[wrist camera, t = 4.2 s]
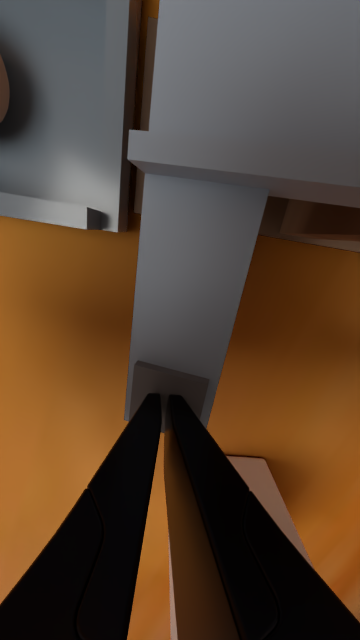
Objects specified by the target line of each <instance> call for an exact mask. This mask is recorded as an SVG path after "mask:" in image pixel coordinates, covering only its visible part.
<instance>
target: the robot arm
mask: <svg viewBox="0 0 360 640" xmlns="http://www.w3.org/2000/svg"><path fill="white" fill-rule="evenodd" d="M161 425H162V413H161V395H160V394H159V393H148V394H147V395H146V397H145V398H144V400H143V401H142V403H141V404H140V406H139V407H138V409H137V411H136V412H135V414H134V415H133V417H132V418H131V420H130V421H129V423H128V424H127V426H126V427H125V429H124V430H123V432H122V433H121V435H120V437H119V438H118V440H117V441H116V443H115V444H114V446H113V447H112V449H111V450H110V452H109V453H108V455H107V456H106V458H105V460H104V461H103V463H102V464H101V466H100V467H99V469H98V470H97V472H96V473H95V475H94V476H93V478H92V479H91V481H90V483H89V484H88V486H87V489H85V490H84V491H83V493H82V494H81V496H80V497H79V499H78V501H77V502H76V504H75V505H74V507H73V508H72V510H71V511H70V512H69V514H68V515H67V517H66V518H65V520H64V521H63V523H62V524H61V525H60V527H59V528H58V530H57V531H56V533H55V534H54V535H53V537H52V538H51V539H50V541H49V542H48V543H47V545H46V546H45V547H44V549H43V550H42V551H41V553H40V554H39V555H38V557H37V558H36V559H35V561H34V562H33V563H32V565H31V566H30V567H29V569H28V570H27V571H26V572H25V574H24V575H23V576H22V577H21V579H20V580H19V581H18V582H17V584H16V585H15V586H14V588H13V589H12V590H11V591H10V593H9V594H8V595H7V596H6V598H5V599H4V600H3V602H2V603H1V604H0V640H127V635H128V629H129V623H130V617H131V611H132V605H133V598H134V592H135V586H136V580H137V574H138V568H139V562H140V555H141V549H142V543H143V537H144V531H145V525H146V519H147V512H148V506H149V500H150V494H151V488H152V482H153V476H154V470H155V463H156V457H157V451H158V445H159V439H160V433H161ZM164 481H165V493H166V505H167V517H168V529H169V542H170V554H171V566H172V578H173V590H174V602H175V615H176V627H177V639H178V640H360V622H359V621H358V620H357V619H356V618H355V617H354V615H353V614H352V613H351V612H350V611H349V610H348V608H347V607H346V606H345V605H344V604H343V603H342V601H341V600H340V599H339V598H338V597H337V596H336V594H335V593H334V592H333V591H332V590H331V589H330V587H329V586H328V585H327V584H326V583H325V582H324V580H323V579H322V578H321V577H320V576H319V575H318V573H317V572H316V571H315V570H314V569H313V568H312V566H311V565H310V564H309V563H308V562H307V560H306V559H305V558H304V557H303V556H302V554H301V553H300V552H299V551H298V550H297V548H296V547H295V546H294V545H293V544H292V542H291V541H290V540H289V539H288V538H287V536H286V535H285V534H284V533H283V531H282V530H281V529H280V528H279V526H278V525H277V524H276V522H275V521H274V520H273V519H272V517H271V516H270V515H269V513H268V512H267V511H266V509H265V508H264V507H263V505H262V504H261V503H260V501H259V500H258V499H257V497H256V496H255V495H254V493H253V492H252V491H249V487H248V485H247V484H246V482H245V481H244V480H243V478H242V477H241V476H240V474H239V473H238V472H237V470H236V469H235V467H234V466H233V465H232V463H231V462H230V461H229V459H228V458H227V457H226V455H225V454H224V452H223V451H222V450H221V448H220V447H219V446H218V444H217V443H216V442H215V440H214V439H213V437H212V436H211V435H210V433H209V432H208V431H207V429H206V428H205V427H204V425H203V424H202V422H201V421H200V420H199V418H198V417H197V416H196V414H195V413H194V411H193V410H192V409H191V407H190V406H189V405H188V403H187V402H186V401H185V399H184V398H183V397H182V396H181V395H174V394H170V395H169V397H168V402H167V408H166V414H165V436H164Z"/></svg>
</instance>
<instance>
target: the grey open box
mask: <svg viewBox="0 0 360 640" xmlns="http://www.w3.org/2000/svg"><path fill="white" fill-rule="evenodd" d="M141 11H142V0H0V55H1V57H2V60H3V62H4V65H5V69H6V72H7V76H8V81H9V89H10V98H9V106H8V110H7V113H6V115H5V117H4V119H3V120H2V122H1V123H0V216H6V217H12V218H19V219H25V220H31V221H37V222H43V223H50V224H56V225H62V226H68V227H74V228H81V229H87V230H106V231H112V232H127V225H128V210H129V194H130V179H131V164H132V163H131V162H130V161H129V160H128V159H127V158H128V141H129V129H130V130H134V118H135V103H136V87H137V72H138V57H139V41H140V26H141Z"/></svg>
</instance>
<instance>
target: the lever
mask: <svg viewBox="0 0 360 640" xmlns="http://www.w3.org/2000/svg"><path fill="white" fill-rule="evenodd" d="M127 159H128V160H129V161H130V162H131V163H133V164H134V165H135V166H136V167H138V168H139V169H140V170H141V171H143V172H144V173H145V179H144V191H143V203H142V215H141V226H140V238H139V250H138V262H137V273H136V285H135V297H134V309H133V321H132V332H131V344H130V356H129V368H128V379H127V391H126V403H125V415H124V420H126V421H130V420H131V418H132V417H133V415H134V414H135V412H136V411H137V409H138V407H139V406H140V404H141V403H142V401H143V400H144V398H145V397H146V395H147V394H148V393H159V394H160V395H161V413H162V425H161V432H162V433H165V414H166V408H167V402H168V397H169V395H170V394H174V395H181V396H182V397H183V398H184V399H185V401H186V402H187V403H188V405H189V406H190V407H191V409H192V410H193V411H194V413H195V414H196V416H197V417H198V418H199V420H200V421H201V422H202V424H203V425H204V427H205V428H207V424H208V421H209V417H210V413H211V409H212V405H213V402H214V398H215V394H216V390H217V386H218V383H219V379H220V375H221V371H222V368H223V364H224V360H225V356H226V352H227V349H228V345H229V341H230V337H231V333H232V330H233V326H234V322H235V318H236V315H237V311H238V307H239V303H240V299H241V296H242V292H243V288H244V284H245V280H246V277H247V273H248V269H249V265H250V262H251V258H252V254H253V250H254V246H255V243H256V239H257V235H258V231H259V227H260V224H261V220H262V216H263V212H264V209H265V205H266V201H267V197H268V196H274V197H281V198H289V199H296V200H304V201H311V202H319V203H326V204H334V205H341V206H349V207H356V208H360V0H160V3H159V14H158V26H157V38H156V50H155V62H154V73H153V85H152V97H151V109H150V120H149V131H140V130H130V129H129V141H128V158H127Z"/></svg>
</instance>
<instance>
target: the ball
mask: <svg viewBox="0 0 360 640" xmlns="http://www.w3.org/2000/svg"><path fill="white" fill-rule="evenodd" d="M9 98H10V89H9V81H8V76H7V72H6V69H5V65H4V62H3V60H2V57H1V55H0V123H1V122H2V120H3V119H4V117H5V115H6V113H7V110H8V106H9Z"/></svg>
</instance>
